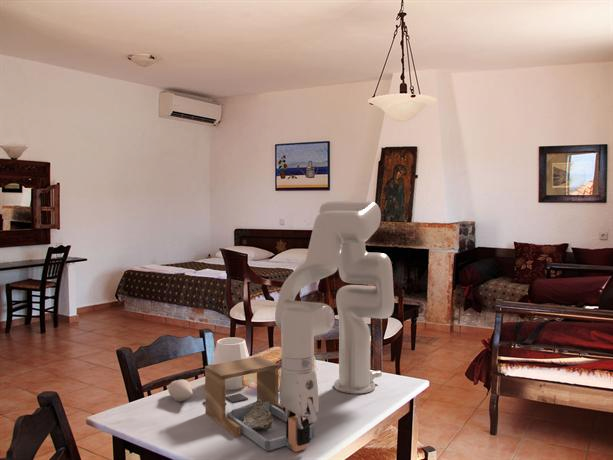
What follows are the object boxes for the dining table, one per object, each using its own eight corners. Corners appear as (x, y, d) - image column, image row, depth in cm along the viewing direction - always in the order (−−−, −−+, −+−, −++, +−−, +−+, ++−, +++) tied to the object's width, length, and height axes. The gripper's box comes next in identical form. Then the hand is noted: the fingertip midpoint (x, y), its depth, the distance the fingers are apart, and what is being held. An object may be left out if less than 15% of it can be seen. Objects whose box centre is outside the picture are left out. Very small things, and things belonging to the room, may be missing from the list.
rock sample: (225, 411, 141) (251, 388, 141) (240, 422, 146) (266, 399, 147) (242, 441, 133) (269, 417, 134) (257, 452, 138) (284, 428, 139)
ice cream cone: (192, 410, 151) (173, 402, 163) (207, 392, 154) (187, 386, 166) (177, 395, 149) (159, 389, 162) (192, 378, 152) (173, 372, 165)
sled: (271, 411, 150) (271, 385, 150) (324, 442, 130) (324, 413, 130) (227, 422, 142) (227, 395, 142) (276, 457, 123) (276, 427, 122)
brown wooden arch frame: (247, 392, 165) (247, 350, 164) (294, 420, 144) (294, 372, 143) (194, 405, 155) (193, 359, 154) (236, 436, 134) (236, 384, 134)
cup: (225, 395, 163) (225, 348, 162) (201, 384, 173) (200, 340, 172) (261, 385, 172) (261, 341, 171) (236, 375, 182) (236, 333, 181)
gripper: (332, 368, 121) (332, 449, 122) (291, 351, 135) (291, 424, 136) (304, 374, 117) (304, 458, 118) (265, 356, 131) (265, 431, 132)
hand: (297, 439), depth 127 cm, fingers open, 3 cm apart
